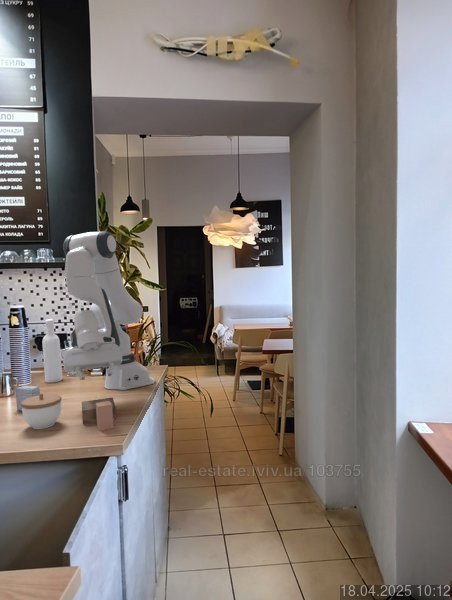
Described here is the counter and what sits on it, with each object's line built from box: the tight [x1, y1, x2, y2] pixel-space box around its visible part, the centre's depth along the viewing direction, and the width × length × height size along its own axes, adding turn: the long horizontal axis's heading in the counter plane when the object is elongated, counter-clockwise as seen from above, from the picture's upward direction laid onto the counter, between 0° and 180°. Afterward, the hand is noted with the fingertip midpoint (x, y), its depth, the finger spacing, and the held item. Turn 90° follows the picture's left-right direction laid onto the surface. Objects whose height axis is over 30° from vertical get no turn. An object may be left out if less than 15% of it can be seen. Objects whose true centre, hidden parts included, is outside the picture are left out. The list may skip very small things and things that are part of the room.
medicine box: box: [14, 385, 41, 412], centre depth 162 cm, size 8×4×9 cm, turn 71°
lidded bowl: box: [21, 392, 62, 430], centre depth 144 cm, size 13×13×11 cm
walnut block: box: [81, 397, 117, 425], centre depth 150 cm, size 11×11×5 cm
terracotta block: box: [96, 401, 114, 432], centre depth 140 cm, size 4×4×8 cm
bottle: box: [41, 318, 63, 384], centre depth 205 cm, size 8×8×30 cm
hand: (96, 377), depth 148 cm, fingers open, 8 cm apart
